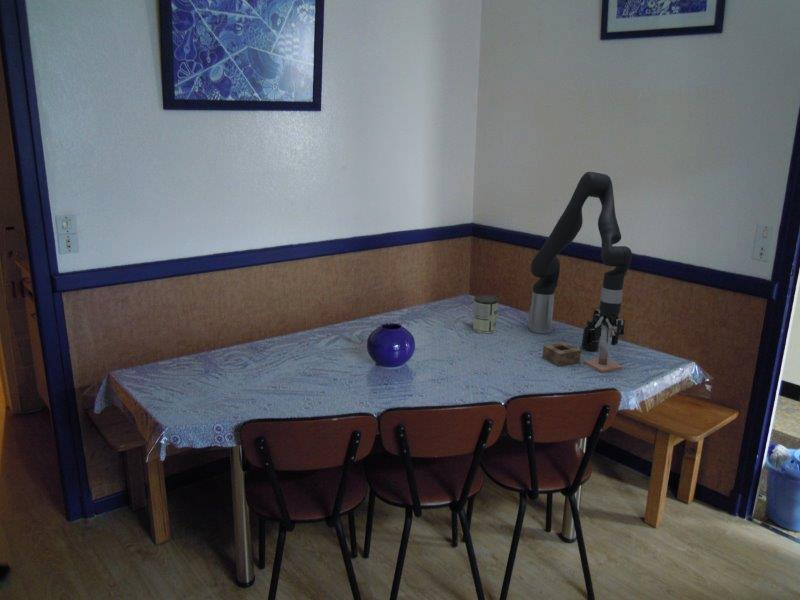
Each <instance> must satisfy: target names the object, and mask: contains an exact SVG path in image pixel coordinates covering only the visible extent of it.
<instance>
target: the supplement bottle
mask: <svg viewBox="0 0 800 600" xmlns="http://www.w3.org/2000/svg"><path fill="white" fill-rule="evenodd" d="M592 319H593V318H588V319H587V320H586V321H587V322H586V325H585V326H584V327H583V332H582V340H581V349H582V350H584V351H586V352H594V353H595V352H598V351H599V350H600V340H601V337H599V338H596V337H595V329H596V328H595V325H592ZM595 321H596V320H595Z"/></svg>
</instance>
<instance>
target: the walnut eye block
mask: <svg viewBox="0 0 800 600" xmlns="http://www.w3.org/2000/svg"><path fill="white" fill-rule="evenodd" d="M542 345H543V344H542ZM581 353H582V350H581V349H579V348H577V347H576V346H573V345H571V344H569V343H567V342H565V341H561V342H555V343H550V344H544V345H543V347H542V359H544V360H547V361H548V362H550V363H551V364H553V365H555V366H557V367H564V366H565V367H566V366H569V365H574V364H579V363H580V362H581V357H582V355H581Z"/></svg>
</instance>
